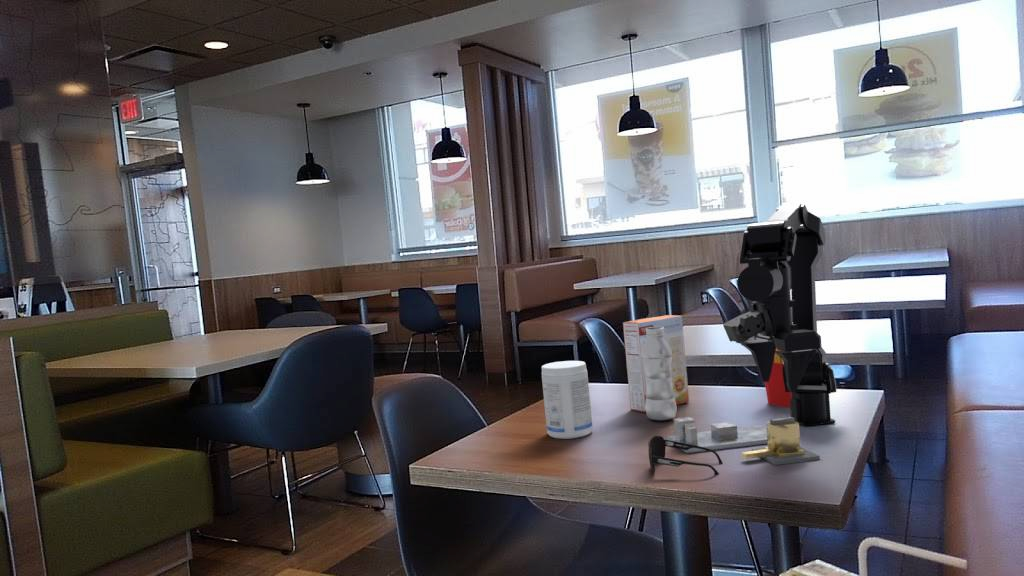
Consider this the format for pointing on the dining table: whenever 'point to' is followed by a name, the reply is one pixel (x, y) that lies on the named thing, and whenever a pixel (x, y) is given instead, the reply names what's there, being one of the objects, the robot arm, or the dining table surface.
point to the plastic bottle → (658, 376)
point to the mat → (791, 457)
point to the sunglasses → (659, 444)
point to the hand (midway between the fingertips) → (778, 385)
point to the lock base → (729, 443)
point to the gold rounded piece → (779, 439)
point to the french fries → (777, 385)
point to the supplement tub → (566, 399)
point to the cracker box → (635, 368)
